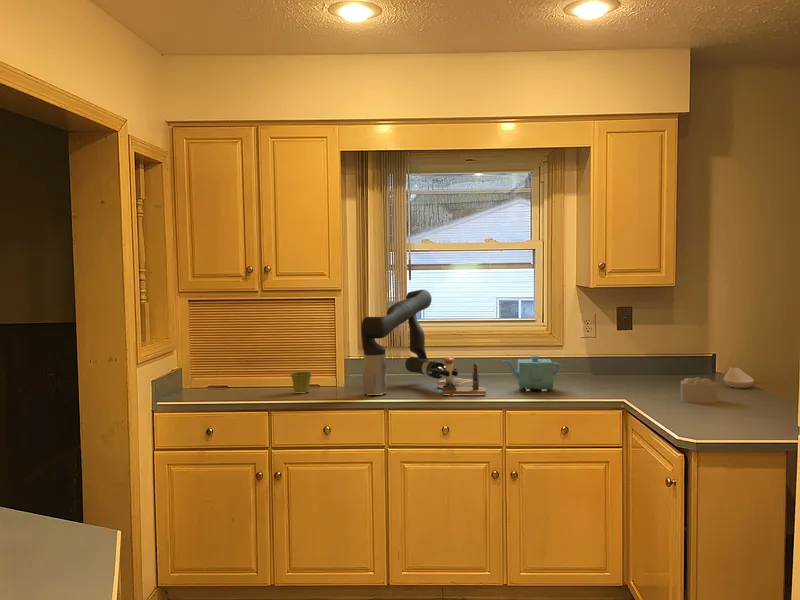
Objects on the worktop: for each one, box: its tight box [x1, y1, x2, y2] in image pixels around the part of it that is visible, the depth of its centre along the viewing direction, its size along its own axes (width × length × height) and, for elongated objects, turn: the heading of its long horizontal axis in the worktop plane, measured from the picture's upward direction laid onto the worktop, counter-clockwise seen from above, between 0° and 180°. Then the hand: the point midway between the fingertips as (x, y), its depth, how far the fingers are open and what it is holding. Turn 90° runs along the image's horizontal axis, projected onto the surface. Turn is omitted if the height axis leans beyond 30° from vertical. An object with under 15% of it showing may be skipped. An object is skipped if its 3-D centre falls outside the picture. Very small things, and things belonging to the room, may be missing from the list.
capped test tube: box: [443, 357, 455, 387], centre depth 303 cm, size 4×4×13 cm
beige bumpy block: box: [680, 376, 718, 404], centre depth 277 cm, size 10×13×9 cm
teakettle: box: [503, 355, 563, 390], centre depth 309 cm, size 19×19×15 cm
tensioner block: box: [441, 361, 487, 395], centre depth 303 cm, size 10×18×13 cm, turn 85°
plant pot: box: [290, 371, 313, 393], centre depth 314 cm, size 9×9×9 cm
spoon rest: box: [723, 367, 755, 389], centre depth 311 cm, size 24×12×7 cm, turn 165°
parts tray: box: [436, 377, 473, 387], centre depth 321 cm, size 12×12×3 cm
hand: (452, 373), depth 301 cm, fingers closed on capped test tube, 3 cm apart
